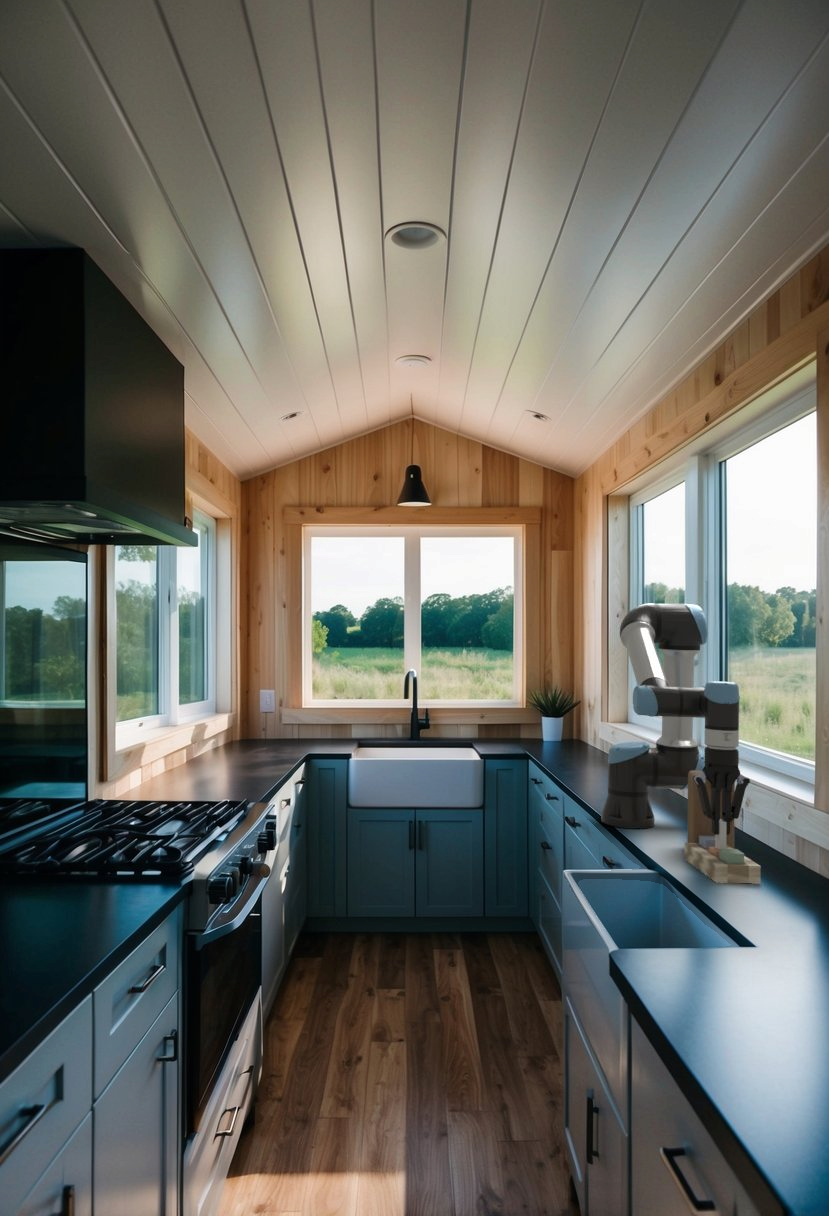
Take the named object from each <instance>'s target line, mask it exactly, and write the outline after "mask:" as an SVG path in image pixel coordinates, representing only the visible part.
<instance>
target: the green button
mask: <svg viewBox="0 0 829 1216" xmlns="http://www.w3.org/2000/svg"><path fill="white" fill-rule="evenodd" d="M744 856H745V853H744V852H742V851H741V850H739V849H737V848H734V849H719V860H721V861H722V862H723V863H725V864H744Z"/></svg>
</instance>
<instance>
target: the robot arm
mask: <svg viewBox="0 0 829 1216" xmlns="http://www.w3.org/2000/svg"><path fill="white" fill-rule="evenodd" d="M708 637H709V636H708V623H707V618H706V615H705V612H704V610H703V609H702V607H700V606H699V605H697V604H689V603H650V602H649V603H643V604H640V605H638V606H636V607H634V608H632V609H631V610H629V612H628V613H627V614H626V615H625V616H624V618H623V619H622V621H621V624H620V627H619V638H620V640H621V643H622V645H623V647H625V648H626V649H627V653H628V656H629V659H630V663H631V667H632V670H633V674H634V678H635V682H636V686H635V687H634V688H633V690H632V691H633V692H632V709H633V711H634V712H633V713H635V714H636V715H638V716H646V717H650V718H651V717H661V736H660V737H659V738H658V739H657V740H656V742H655V744H656V745H655V747H651V746H650V744H649V743H648V742H647V741H646V742H644V741H631V742H630V741H629V742H621V743H617V744H613V745H612V746H610V747H609V749H608V757H607V796H606V799H605V802H604V805H603V808H602V811H601V815H600V816H601V817H600V819H601V822H602V823H603V824H606V825H609V826H612V827H616V828H622V827H623V828H622V829H635V828H640V829H647V828H653V827H654V826H655V823H656V821H655V820H656V819H655V815H654V811H653V807H652V805H651V800H650V797H649V793H650V790H649V789H671V790H672V789H673V790H674V789H675V790H680V791H682V790H688V773H689V771H692V770H696V771H702V773H701V774H699V775H698V776H693V780H694V782H695V783H696V785H697V788H698V792H699V796H700V801H701V805H702V810H703V814H704V815H705V816H706V817H708V818H710V819H711V820H712V833H713V834H715V847H716V848H718V849H726V835H729V834H730V822H732V819H734V820H737V819H739V817H740V813H741V809H742V805H743V802H744V797H745V796H744V795H745V793H746V788H747V787H748V786H749V784H750V783H751V779H750V778H749V777H746V776H744V775H743V774H741V771H740V768H739V763H740V761H739V760H740V758H739V754H740V753H739V750H738V749H737V748H738V747H739V746H740V745H739V744H740V743H739V740H740V737H739V736H740V735H739V733H740V732H739V730H740V729H739V728H740V726H739V725H740V699H741V697H740V691H739V690H740V689H739V685H738V683H737V682H734V681H719V680H717V681H716V680H715V681H714V680H713V681H707V682H705V685H704V686H701V687H695V686H694V684H695V657H696V655H697V654H698V653H700V651H701V646H702V645H705V644H706V643H707V640H708ZM656 644H657V645H658V646H656ZM657 647H658V648H657ZM658 650H659V652H660V653H661V654H662V655H663V663H662V661H661V658H660V656H659V655H660V654H659V653H658ZM662 664H663V665H662ZM694 718H701V719H703V718H704V744H705V748H703V749H704V750H703V751H704V752H703V751H702V750H701V749H700V748H699V747H698V746H699V744H698V743H697V742H696V740H695V739H694V738H693V731H694V724H693V723H694ZM705 778H706V779H707V780H708V782H709V783H710V788H711V806H710V802H709V798H708V793H707V789H706V786H705V784H704V783H705V782H706V780H705ZM734 782H735V783H736V784H735V792H734V796H733V800H732V805H731V792H732V785H733V784H734ZM721 789H722V818H723V820H722V819H720V792H721Z"/></svg>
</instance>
